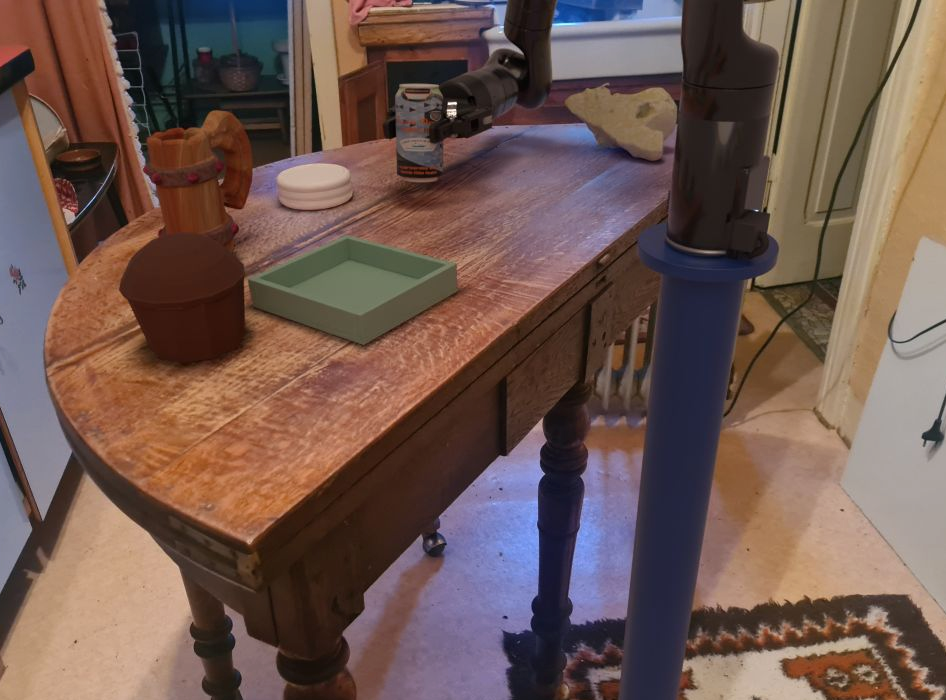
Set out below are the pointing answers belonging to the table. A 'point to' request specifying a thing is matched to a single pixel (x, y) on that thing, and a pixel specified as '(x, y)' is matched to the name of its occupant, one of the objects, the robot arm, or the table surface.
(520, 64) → the robot arm
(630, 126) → the cheese
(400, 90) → the beverage can
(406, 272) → the tray
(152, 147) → the mug
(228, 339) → the muffin
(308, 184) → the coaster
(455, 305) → the table surface
